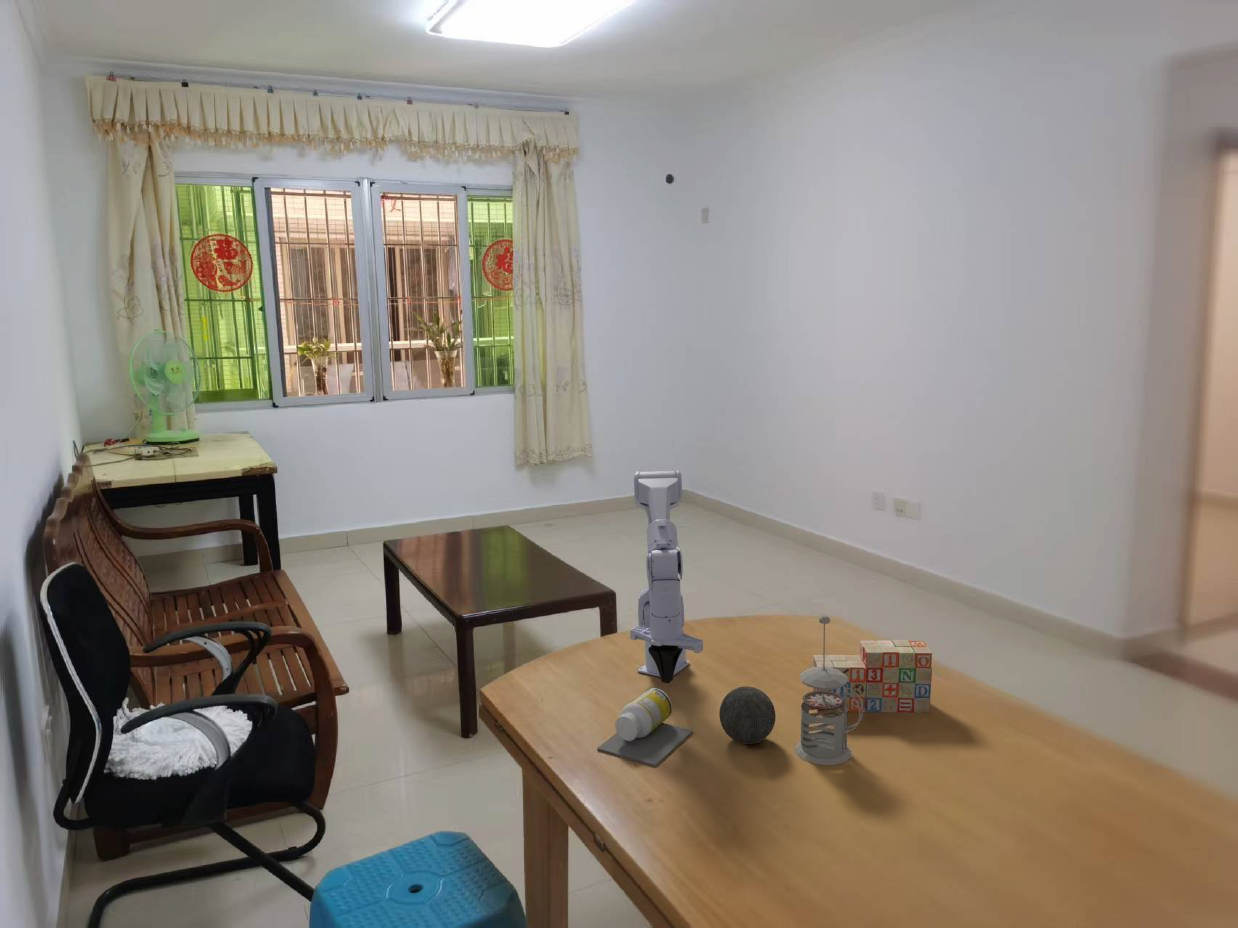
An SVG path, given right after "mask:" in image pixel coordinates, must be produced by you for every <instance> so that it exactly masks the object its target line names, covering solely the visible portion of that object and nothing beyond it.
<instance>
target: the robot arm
mask: <svg viewBox="0 0 1238 928" xmlns="http://www.w3.org/2000/svg"><path fill="white" fill-rule="evenodd" d="M633 491H634V493H633V494H634V495H633V496H634V500H635V501H634V503H635V505H636V508H638V509H641V510H643V511H644V512H645V514H646V516H647V519H648V521H647V523H648V526H647V528H646V542H647V543H646V544H647V552H646V555H645V557H646V559H645V565H646V579H647V582H648V585H647V587H645V588H644V589H643V590H642V591H639V595H638V596H637V601H638V602H637V619H638V620H637V621H638V623H637V624H638V626H634V627H632V628H631V629H630V631H629V632H630V634H629V635H630V640H632V641H637V640H640V641H644V655H645V657H644V660H645V662H644V663H645V664H644V665H642V666H641V667H639V668H638V669H637V672H638V673H642V674H646V675H651V676H654V677H655V676H656V677H659V678H660V681H661V683H663V684H669V683H671V682H672V681H673V680H674V676H675V675H676V674H678V673H679V672H680V671H682V670H683V669H685V668H686V667H687V666H688V665H689V664H690V660H687V650H689V651H691V652H693V653H695V654H699V653H701V652H702V651H704V640H703V639H700V638H696V637H694V636H692V635H689V634H687V633H685V631H684V629H683V627H684V626H685V605H684V597H683V594H682V592H681V581H682V579H683V573H684V571H683V570H684V569H683V566H684V565H683V564H684V563H683V554H682V551H681V548H680V545H679V541H678V531H677V530H678V529H677V526H676V525H675V524H674V523H673V522H672V521H671V519H670V518H671V510H672V509H675V508H677V507H679V506H680V503H681V501H682V497H683V481H682V473H681V471H680V470H678V469H675V470H663V471H662V470H660V471H653V470H652V471H638V470H637V471H635V473H633Z"/></svg>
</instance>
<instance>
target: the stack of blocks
mask: <svg viewBox="0 0 1238 928" xmlns="http://www.w3.org/2000/svg"><path fill="white" fill-rule="evenodd" d="M858 652H859V653H858V654H854V655H853V654H825V666H826V667H830V668H834V669H837V670H839V671H841V672H842V673H844V674H845V675H846V676H847V678H848V680H847V683H846V684H845V685H844V686H843V687H841V688H837V689H832V690H824V691H828V692H833V693H836V694H839V695H840V696H842V697H843V693H844V692H846V689H847V688H851V689H852V690H853V691H855V692H856V693H857V694H858V695H859V697H860V699H861V701H862V703H863V713H918V712H930V713H931V689H932V678H933V676H932V675H933V667H932V664H933V662H932V660H933V656H932V655H933V652H932V650H930V647H928V645H927V644H926V642H925V641H924V640H907V639H892V640H891V639H889V640H887V639H886V640H885V639H884V640H879V639H878V640H859V651H858ZM822 666H823V654H813V657H812V667H822ZM819 690H820V691H821V690H822V689H815V688H812V691H819ZM822 691H823V690H822ZM848 693H850V694H851V695H852V696H853V697H854V698H855V699H856V700H857V702H858V704H859V707H860V713H862V705H861V702H860V700H859V698H858V697H857V695H856V694H855V693H854V692H852V691H851V690H850V689H848ZM845 695H846V693H845ZM844 700H845V702H844V705H845V707H846V713H848V712H850V713H859V709H858V705H857V703H856V701H855V700H854V699H853V698H852V697H851V696H850V695H848V694H847V696H846V698H844ZM837 710H838V711H840V712H841V713H843V711H842V710H841V709H840V708H838V709H837ZM816 711H817V712H821V711H824V710H818V709H816Z"/></svg>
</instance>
